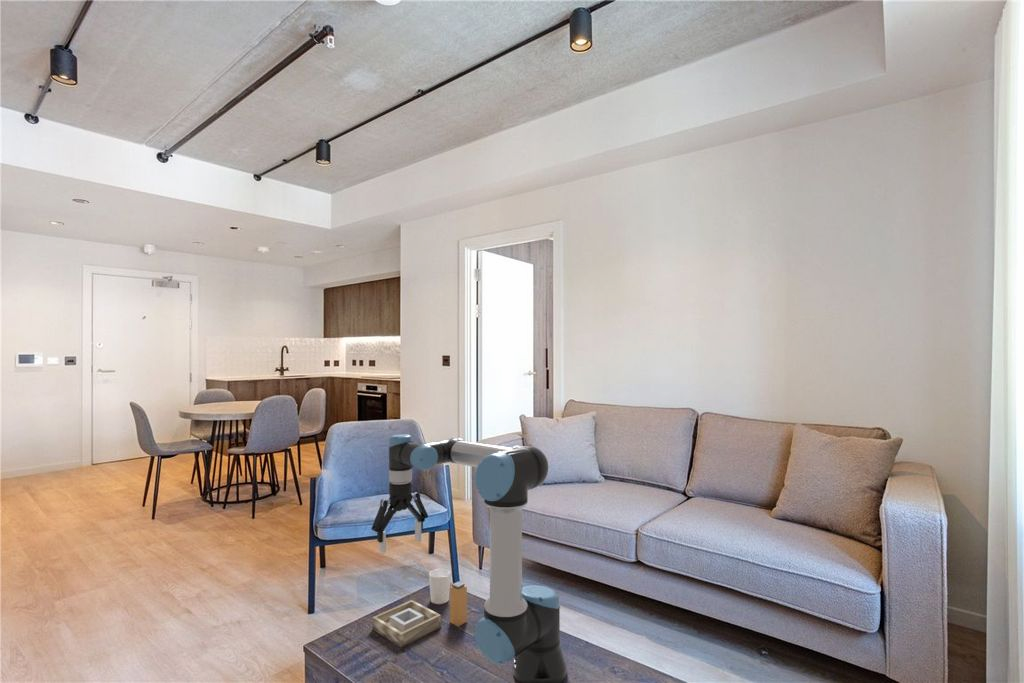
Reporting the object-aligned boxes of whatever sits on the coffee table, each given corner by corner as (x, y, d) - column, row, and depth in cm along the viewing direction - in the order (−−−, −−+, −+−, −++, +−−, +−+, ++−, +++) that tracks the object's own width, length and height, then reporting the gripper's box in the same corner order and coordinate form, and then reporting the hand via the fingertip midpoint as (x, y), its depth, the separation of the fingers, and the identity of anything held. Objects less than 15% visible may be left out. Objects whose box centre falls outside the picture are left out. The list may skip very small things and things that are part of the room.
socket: (423, 624, 170) (423, 615, 170) (404, 634, 164) (404, 625, 164) (409, 616, 175) (409, 607, 175) (389, 625, 169) (389, 616, 170)
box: (441, 627, 170) (440, 614, 170) (401, 647, 158) (401, 634, 159) (411, 611, 181) (411, 599, 181) (372, 629, 169) (372, 617, 169)
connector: (466, 621, 173) (466, 583, 174) (458, 626, 171) (457, 587, 171) (458, 617, 176) (458, 580, 177) (450, 622, 173) (449, 584, 174)
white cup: (454, 597, 191) (454, 570, 191) (443, 606, 184) (443, 578, 184) (436, 593, 194) (436, 567, 195) (425, 602, 187) (424, 575, 187)
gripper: (425, 473, 182) (425, 533, 181) (360, 486, 164) (360, 553, 164) (437, 476, 176) (438, 538, 176) (372, 490, 159) (372, 559, 158)
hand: (400, 546), depth 170 cm, fingers open, 13 cm apart
